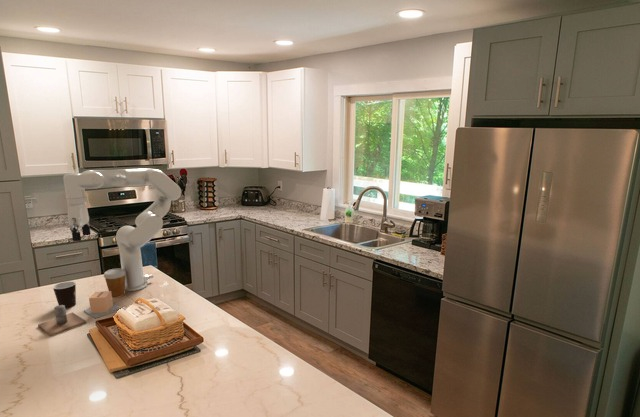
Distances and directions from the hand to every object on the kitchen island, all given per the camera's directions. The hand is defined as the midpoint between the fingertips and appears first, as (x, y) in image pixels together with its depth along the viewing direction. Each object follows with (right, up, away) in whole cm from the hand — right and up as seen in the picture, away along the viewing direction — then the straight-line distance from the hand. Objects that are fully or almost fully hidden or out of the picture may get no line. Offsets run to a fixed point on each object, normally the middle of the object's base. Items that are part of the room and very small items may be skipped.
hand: (82, 237), depth 179 cm
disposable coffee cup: (+10, -29, +11) cm, 32 cm away
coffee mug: (-7, -31, +2) cm, 32 cm away
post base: (+2, -35, -17) cm, 39 cm away
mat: (+12, -32, -5) cm, 34 cm away
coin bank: (+12, -31, -5) cm, 34 cm away
